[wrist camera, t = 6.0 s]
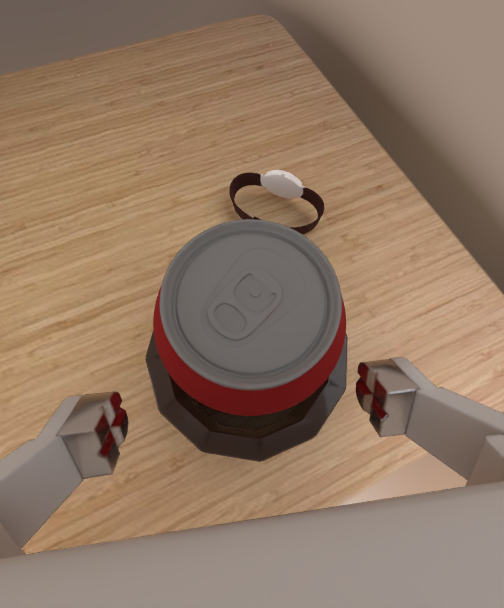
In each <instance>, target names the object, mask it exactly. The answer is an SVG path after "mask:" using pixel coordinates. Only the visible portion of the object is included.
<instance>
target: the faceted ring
mask: <svg viewBox="0 0 504 608" xmlns="http://www.w3.org/2000/svg"><path fill="white" fill-rule="evenodd" d="M146 363H147V367H148V371H149V375H150V378H151V382H152V386H153V390H154V394H155V398H156V402H157V406H158V409H159V411H160V413H161V414H162V415H163V416H164V417H165V418H166V419H167V420H168V421H169V422H170V423H171V424H173V425H174V426H175V427H176V428H177V429H178V430H179V431H180V432H181V433H182V434H183V435H184V436H185V437H186V438H187V439H189V440H190V441H191V442H192V443H193V444H194V445H195V446H196V447H197V448H198V449H199V450H200V451H202V452H204V453H210V454H216V455H222V456H228V457H234V458H240V459H246V460H252V461H258V462H261V461H264V460H266V459H268V458H271V457H273V456H275V455H277V454H280V453H282V452H284V451H286V450H288V449H291V448H293V447H295V446H297V445H299V444H302V443H304V442H306V441H308V440H310V439H313V438H314V436H316V435H317V434H318V432H319V431H320V429H321V428H322V426H323V424H324V423H325V421H326V420H327V418H328V417H329V415H330V413H331V412H332V410H333V409H334V407H335V406H336V404H337V403H338V401H339V399H340V398H341V396H342V395H343V393H344V392H345V389H346V370H347V334H345V341H344V345H343V349H342V352H341V355H340V358H339V360H338V362H337V364H336V366H335V368H334V370H333V371H332V373H331V374H330V376H329V377H328V378H327V380H326V381H325V382H324V383H323V384H322V386H321V387H320V388H318V389H317V390H316V391H315V392H314V393H313V394H312V395H310V396H309V397H308V398H306V399H305V400H303V401H302V402H300V403H298V404H297V406H296V407H295V409H294V410H293V412H292V413H291V415H290V416H289V417H287V418H285V419H282V420H280V421H278V422H275V423H273V424H271V425H268V426H266V427H264V428H262V429H259V430H257V431H252V430H246V429H240V428H234V427H228V426H221V425H219V424H217V423H216V422H215V421H214V420H213V419H212V418H211V417H210V416H209V415H207V414H206V413H205V412H204V411H203V410H202V409H201V408H200V407H198V406H197V405H196V404H195V403H194V402H193V401H192V398H191V396H190V395H188V394H187V393H186V392H185V391H184V390H183V389H182V388H180V387H179V385H178V384H177V383H176V382H175V381H174V380H173V378H172V377H171V376H170V374H169V373H168V371H167V370H166V368H165V366H164V365H163V362H162V360H161V358H160V356H159V353H158V350H157V346H156V343H155V337H154V330H153V333H152V337H151V340H150V344H149V347H148V351H147V354H146Z"/></svg>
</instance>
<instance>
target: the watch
mask: <svg viewBox="0 0 504 608" xmlns="http://www.w3.org/2000/svg"><path fill="white" fill-rule="evenodd" d="M247 185H258V186H263V187H265V188H266V189H267V190H268V191H269V192H271V193H272V194H274V195H277V196H279V197H282V198H288V199H293V198H298V197H300V198H303V199H305V200H307V201H308V202H310V203H311V204H312V205H313V206H314V207H315V208H316V210H317V212H318V219H317V220H316V221H314V222H312V223H311V224H308V225H306V226H302V227H295V228H293V227H289V228H291V229H293V230H295V231H297V232H299V233H301V234H305V233H307V232H309V231H311V230H312V229H313V228H314V227H315V226H316V225H317V223H318V222H319V220H320V218H321V216H322V214H323V212H324V202H323V200H322V198H321V197H320V196H319V195H318V194H317V193H316V192H314V191H312V190H310V189H308V188H305V186H302V183H301V181H300V180H299V179H298V178H297V177H295V176H294V175H292V174H291V173H288V172H285V171H282V170H272V171H269V172H267V173H266V174H265V175H263V174H261V173H260V174H258V173H243V174H240V175H238V176H237V177H235V178H234V179H233V181H232V182H231V185H230V197H231V200H232V203H233V206H234V209H235V211H236V213H237V214H238V215H239V216H240V217H241V218H242V219H243V220H245V219H255V220H261V219H259V218H257V217H254V218H252V217H250V216H249V215H247V214H246V213H245V212H243V211H242V210H241V209H240V208H239V207H238V206H237V205H236V204H235V202H234V197H235V194H236V192H237V191H238V190H239V189H240V188H242V187H244V186H247Z"/></svg>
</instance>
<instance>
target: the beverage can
mask: <svg viewBox="0 0 504 608" xmlns="http://www.w3.org/2000/svg"><path fill="white" fill-rule="evenodd" d="M153 327H154V337H155V343H156V346H157V350H158V353H159V356H160V358H161V360H162V362H163V365H164V366H165V368H166V370H167V371H168V373H169V374H170V376H171V377H172V378H173V380H174V381H175V382H176V383H177V384H178V385H179V387H180V388H182V389H183V390H184V391H185V392H186V393H187V394H188V395H190V396H191V397H192V398H194V399H195V400H197V401H199V402H200V403H202V404H204V405H206V406H208V407H210V408H212V409H215V410H218V411H221V412H225V413H228V414H234V415H242V416H258V415H267V414H272V413H276V412H279V411H283V410H285V409H288V408H290V407H293V406H294V405H296V404H298V403H300V402H302V401H303V400H305V399H306V398H308V397H309V396H310V395H312V394H313V393H314V392H315V391H316V390H317V389H318V388H320V387H321V386H322V384H323V383H324V382H325V381H326V380H327V378H328V377H329V376H330V374H331V373H332V371H333V370H334V368H335V366H336V364H337V362H338V360H339V358H340V355H341V352H342V349H343V345H344V341H345V334H346V314H345V307H344V302H343V299H342V295H341V291H340V286H339V282H338V279H337V276H336V274H335V271H334V269H333V267H332V266H331V264H330V262H329V261H328V259H327V257H326V256H325V255H324V254H323V252H322V251H321V250H320V249H319V248H318V247H317V246H316V245H315V244H314V243H313V242H312V241H310V240H309V239H308V238H307V237H305V236H304V235H302V234H301V233H299V232H297V231H295V230H293V229H291V228H289V227H287V226H284V225H281V224H278V223H275V222H270V221H265V220H255V219H245V220H235V221H230V222H225V223H222V224H219V225H216V226H214V227H211V228H209V229H207V230H205V231H203V232H202V233H200V234H198V235H197V236H195V237H194V238H193V239H191V240H190V241H189V242H188V243H187V244H186V245H185V246H184V247H183V248H182V249H181V250H180V251H179V252H178V253H177V255H176V256H175V257H174V259H173V260H172V262H171V263H170V265H169V267H168V269H167V272H166V274H165V276H164V279H163V283H162V286H161V288H160V291H159V293H158V296H157V300H156V304H155V310H154V321H153Z"/></svg>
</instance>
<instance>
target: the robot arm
mask: <svg viewBox="0 0 504 608" xmlns="http://www.w3.org/2000/svg"><path fill="white" fill-rule="evenodd" d="M358 374H359V375H360V376H361V377H360V379H359V380H358V381H357V382H356V395H357V399H358V402H359V404H360V406H361V408H362V409H363V410H364V411H366V412H367V413H369V414H370V419H369V421H370V422H371V424H372V425H373V427H374V429H375V430H376V432H377V433H378V435H379V437H386V436H395V435H404V434H406V436H407V437H408V438H410V439H411V440H412V441H414V442H415V443H416V444H418V445H419V446H421V447H422V448H423V449H425V450H426V451H428V452H429V453H430V454H432V455H433V456H435V457H436V458H437V459H439V460H440V461H442V462H443V463H444V464H446V465H447V466H448V467H450V468H451V469H453V470H454V471H455V472H457V473H458V474H459V475H461V476H463V477H464V478H465V479H466V480H468V481H467V483H466V486H465V487H458V488H452V489H445V490H439V491H432V492H426V493H419V494H413V495H407V496H400V497H393V498H387V499H381V500H374V501H368V502H361V503H355V504H348V505H342V506H336V507H329V508H323V509H316V510H310V511H304V512H297V513H291V514H284V515H278V516H271V517H265V518H258V519H252V520H245V521H239V522H232V523H226V524H219V525H213V526H206V527H200V528H193V529H187V530H180V531H174V532H167V533H161V534H154V535H148V536H141V537H135V538H128V539H122V540H115V541H109V542H103V543H96V544H90V545H83V546H77V547H70V548H64V549H57V550H51V551H44V552H38V553H31V554H26V553H25V552H24V551H23V550H22V547H23V546H24V545H25V544H26V543H27V542H28V541H29V540H30V538H31V537H32V536H33V535H34V534H35V533H36V532H37V531H38V530H39V529H40V527H41V526H42V525H43V524H44V523H45V522H46V521H47V520H48V519H49V518H50V516H51V515H52V514H53V513H54V512H55V511H56V510H57V509H58V508H59V507H60V505H61V504H62V503H63V502H64V501H65V500H66V499H67V498H68V497H69V496H70V494H71V493H72V492H73V491H74V490H75V489H76V488H77V487H78V486H79V485H80V483H81V482H82V481H83V479H86V478H92V477H98V476H104V475H110V474H113V471H114V468H115V466H116V463H117V460H118V458H119V455H120V453H119V450H118V447H119V446H120V445H121V444H122V443H123V442H124V441H125V438H126V436H127V432H128V416H127V413H126V411H125V410H124V409H122V408H121V407H120V405H121V402H122V399H121V396H120V394H119V393H118V392H106V393H95V394H85V395H77V396H69V397H67V398H65V399H64V400H63V401H62V403H61V404H60V406H59V407H58V408H57V410H56V411H55V413H54V414H53V415H52V417H51V418H50V420H49V421H48V422H47V424H46V425H45V427H44V428H43V429H42V431H41V432H40V434H39V435H38V436H37V438H36V439H32V440H29V441H28V442H26V443H25V444H23V445H22V446H20V447H19V448H17V449H16V450H14V451H13V452H12V453H10V454H9V455H7V456H6V457H4V458H3V459H1V460H0V608H504V413H501V412H499V411H497V410H494V409H492V408H490V407H487V406H485V405H483V404H480V403H478V402H476V401H473V400H471V399H468V398H466V397H464V396H461V395H459V394H457V393H454V392H452V391H450V390H447V389H445V388H443V387H439V388H437V387H436V386H435V385H434V384H433V383H432V382H431V381H430V380H429V379H428V378H427V377H425V376H424V375H423V374H422V373H421V372H420V371H419V370H418V369H417V368H416V367H415V366H414V365H413V364H412V363H411V362H410V361H409V360H408V359H407V358H404V357H397V358H390V359H385V360H377V361H369V362H361V363H360V364H359V366H358Z"/></svg>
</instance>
